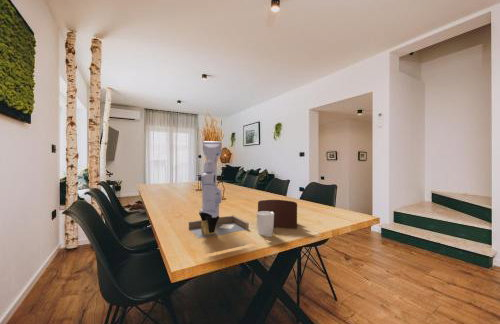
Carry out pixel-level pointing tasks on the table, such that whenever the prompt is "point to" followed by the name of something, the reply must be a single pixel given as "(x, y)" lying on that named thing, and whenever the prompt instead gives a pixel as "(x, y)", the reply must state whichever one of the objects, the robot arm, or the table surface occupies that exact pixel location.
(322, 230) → the table surface
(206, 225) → the ochre block
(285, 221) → the letter holder
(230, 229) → the arena
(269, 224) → the white cup
